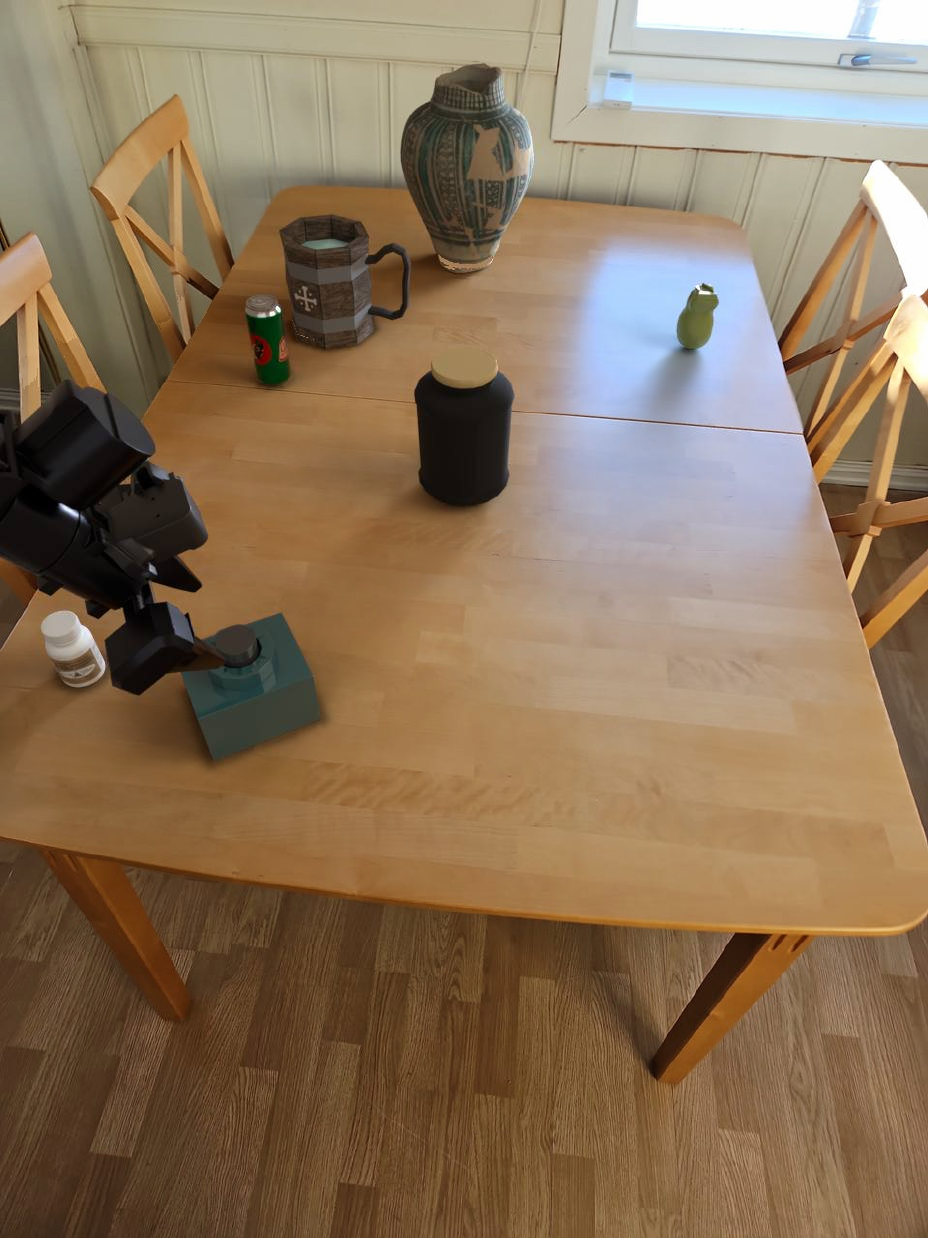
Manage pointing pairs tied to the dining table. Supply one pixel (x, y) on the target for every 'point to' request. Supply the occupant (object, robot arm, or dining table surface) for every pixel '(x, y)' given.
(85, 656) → the pill bottle
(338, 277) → the mug
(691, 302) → the pear
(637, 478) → the dining table surface
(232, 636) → the dark brown button
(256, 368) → the soda can
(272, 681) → the teal push button box
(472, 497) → the container
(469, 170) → the vase
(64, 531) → the robot arm
